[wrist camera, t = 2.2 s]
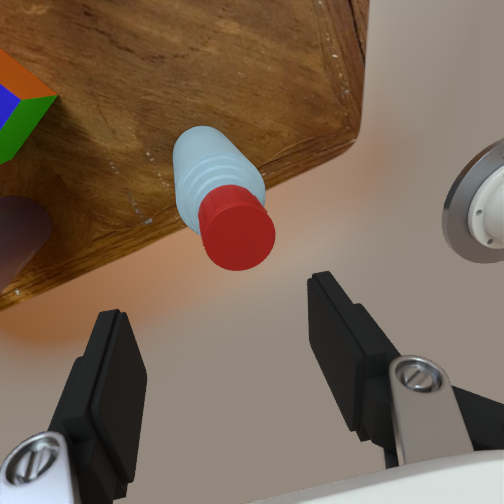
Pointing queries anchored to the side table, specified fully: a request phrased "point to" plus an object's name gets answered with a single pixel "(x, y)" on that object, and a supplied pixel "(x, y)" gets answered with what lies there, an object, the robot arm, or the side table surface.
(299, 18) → the side table surface
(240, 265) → the cap
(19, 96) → the cube
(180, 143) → the bottle
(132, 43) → the side table surface
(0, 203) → the beverage can
